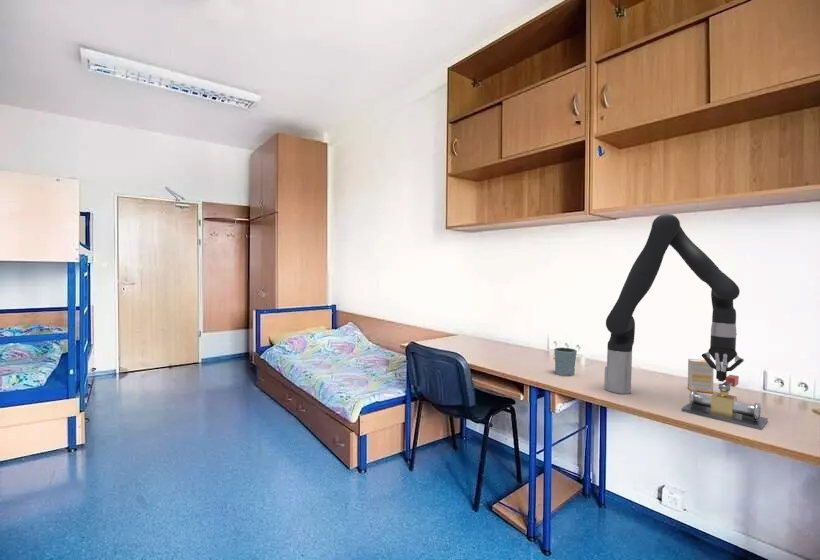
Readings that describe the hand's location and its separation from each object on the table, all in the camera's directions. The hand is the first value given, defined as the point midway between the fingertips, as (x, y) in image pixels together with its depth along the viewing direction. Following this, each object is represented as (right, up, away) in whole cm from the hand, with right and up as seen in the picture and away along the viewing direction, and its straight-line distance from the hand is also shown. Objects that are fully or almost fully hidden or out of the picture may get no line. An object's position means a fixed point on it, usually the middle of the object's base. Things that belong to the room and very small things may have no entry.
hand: (721, 380), depth 153 cm
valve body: (-7, -10, -10) cm, 15 cm away
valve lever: (-2, -1, -6) cm, 6 cm away
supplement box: (+7, -10, +21) cm, 24 cm away
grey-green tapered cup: (-42, -8, +45) cm, 62 cm away
